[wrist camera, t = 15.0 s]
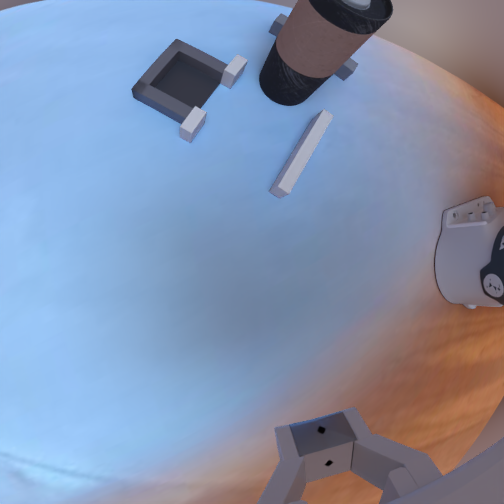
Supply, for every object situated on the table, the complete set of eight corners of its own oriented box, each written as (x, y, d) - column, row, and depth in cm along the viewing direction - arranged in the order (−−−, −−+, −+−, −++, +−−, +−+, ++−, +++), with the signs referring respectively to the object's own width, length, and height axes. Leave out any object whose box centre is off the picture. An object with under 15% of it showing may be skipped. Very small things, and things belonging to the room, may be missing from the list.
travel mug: (322, 92, 39) (408, 13, 19) (282, 117, 38) (362, 30, 18) (286, 53, 38) (351, -41, 18) (245, 75, 36) (296, -32, 17)
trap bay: (175, 49, 34) (176, 38, 32) (226, 75, 36) (229, 65, 33) (133, 97, 33) (131, 89, 31) (186, 127, 35) (187, 119, 33)
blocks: (232, 68, 36) (237, 54, 33) (321, 125, 39) (333, 115, 35) (179, 137, 35) (179, 126, 31) (279, 198, 38) (289, 194, 34)
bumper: (275, 25, 37) (281, 13, 34) (348, 72, 40) (358, 64, 37) (268, 32, 37) (274, 20, 34) (343, 80, 40) (353, 71, 37)
